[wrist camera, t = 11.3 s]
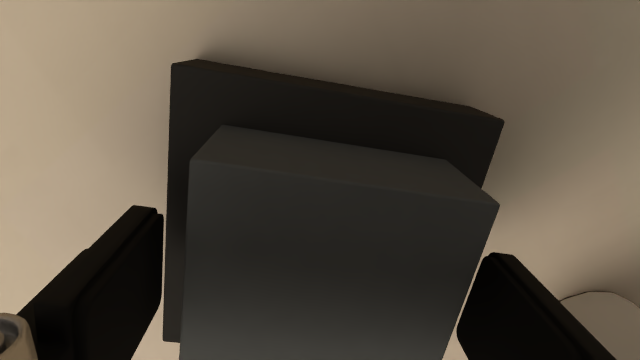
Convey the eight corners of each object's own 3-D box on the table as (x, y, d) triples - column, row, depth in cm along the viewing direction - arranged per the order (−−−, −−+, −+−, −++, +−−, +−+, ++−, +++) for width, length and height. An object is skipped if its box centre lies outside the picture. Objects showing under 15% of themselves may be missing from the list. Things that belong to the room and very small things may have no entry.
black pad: (194, 58, 12) (170, 62, 10) (471, 106, 14) (506, 120, 11) (182, 298, 16) (161, 342, 14) (403, 321, 17) (420, 366, 15)
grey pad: (221, 123, 11) (188, 158, 8) (446, 159, 12) (502, 204, 8) (206, 313, 13) (176, 400, 10) (393, 332, 14) (420, 418, 11)
